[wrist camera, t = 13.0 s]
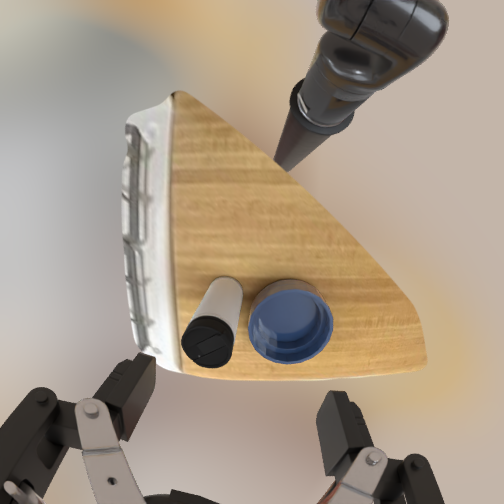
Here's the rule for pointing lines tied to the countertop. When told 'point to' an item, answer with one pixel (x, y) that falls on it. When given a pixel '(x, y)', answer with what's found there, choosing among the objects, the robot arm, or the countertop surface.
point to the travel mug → (214, 324)
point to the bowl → (289, 322)
